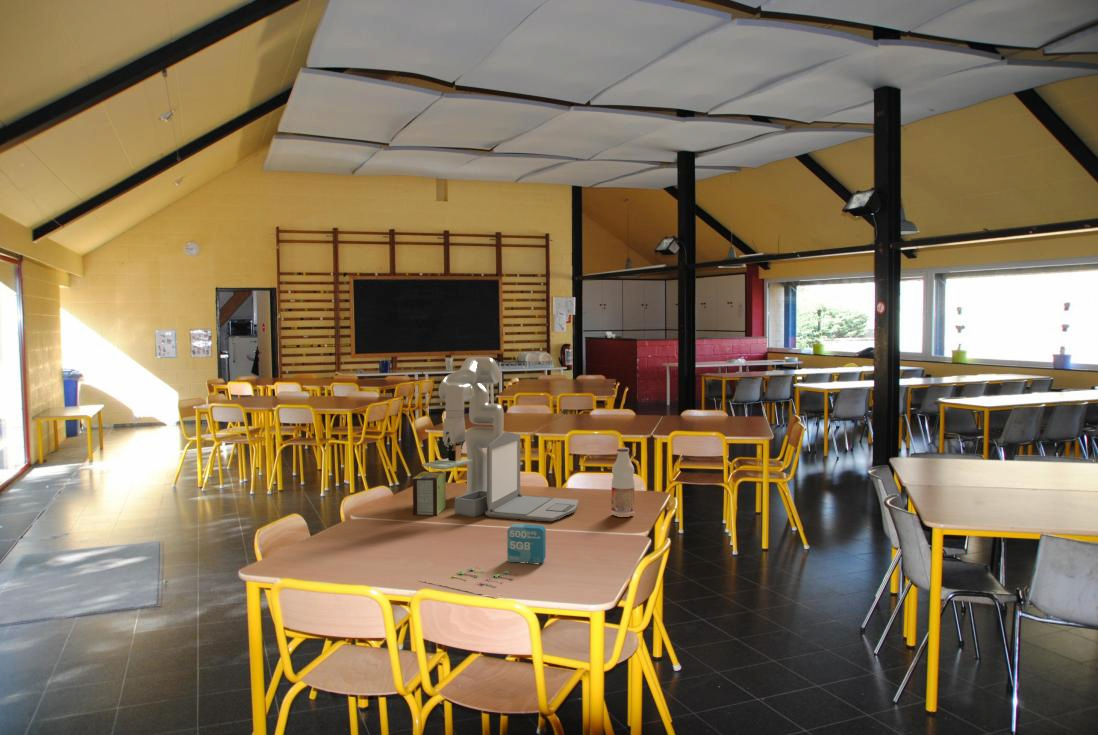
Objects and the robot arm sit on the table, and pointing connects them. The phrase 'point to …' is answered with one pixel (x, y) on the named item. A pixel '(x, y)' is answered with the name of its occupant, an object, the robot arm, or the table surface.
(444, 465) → the lid
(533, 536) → the data package
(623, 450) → the fruit juice
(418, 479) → the protein box
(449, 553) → the table surface
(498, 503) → the laptop
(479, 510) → the tub
